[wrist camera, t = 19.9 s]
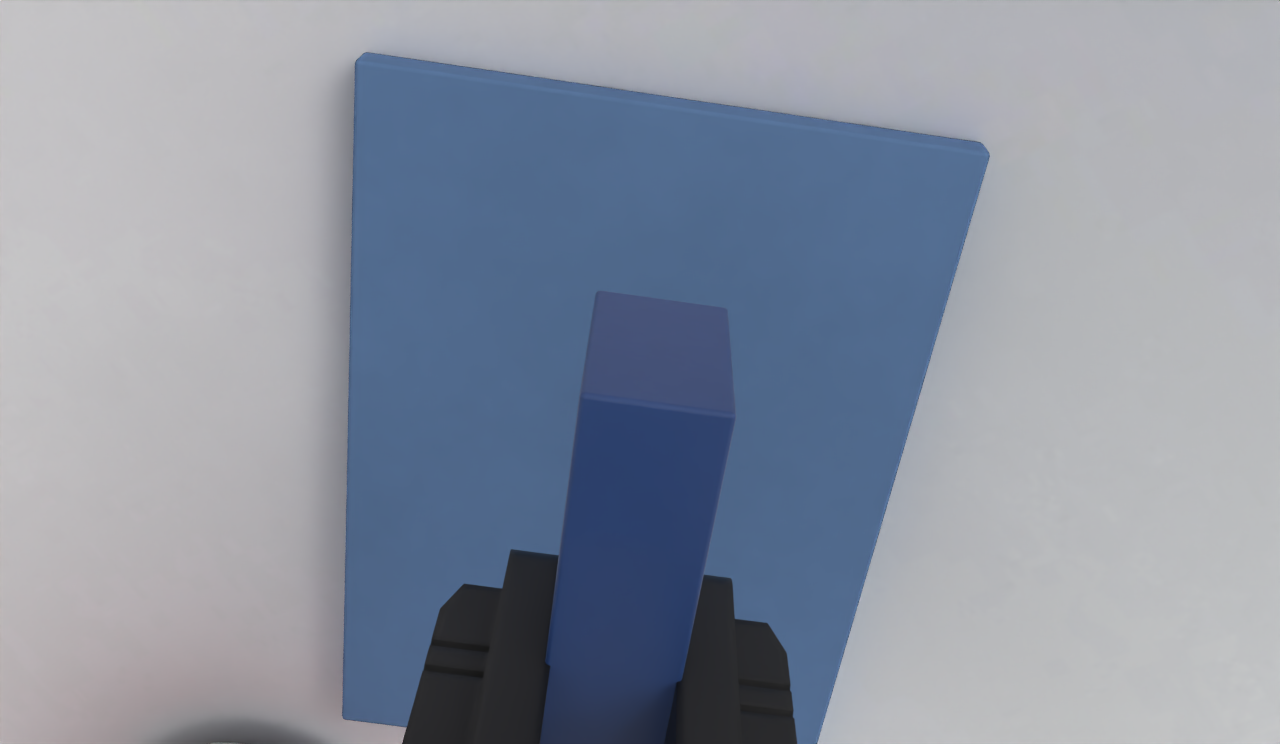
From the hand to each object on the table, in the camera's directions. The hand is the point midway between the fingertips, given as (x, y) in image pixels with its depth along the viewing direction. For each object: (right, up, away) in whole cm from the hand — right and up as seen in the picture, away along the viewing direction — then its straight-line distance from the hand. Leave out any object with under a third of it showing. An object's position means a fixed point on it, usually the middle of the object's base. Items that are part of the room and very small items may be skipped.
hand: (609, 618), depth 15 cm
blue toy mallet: (0, -2, +1) cm, 2 cm away
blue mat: (0, +1, +7) cm, 7 cm away
